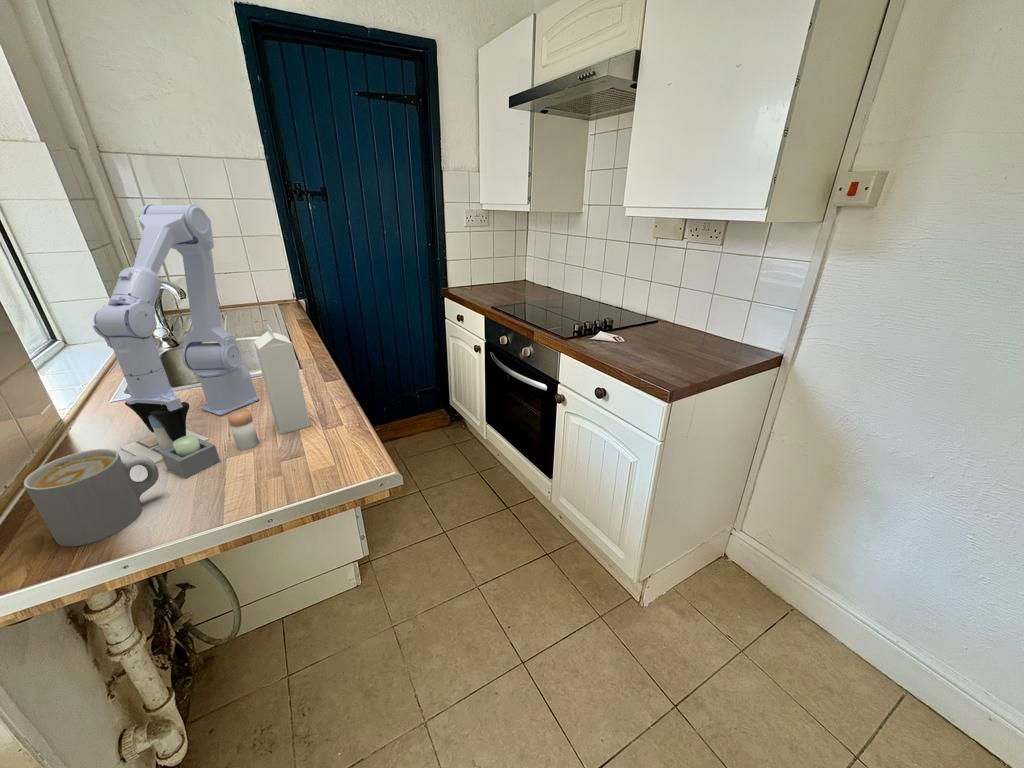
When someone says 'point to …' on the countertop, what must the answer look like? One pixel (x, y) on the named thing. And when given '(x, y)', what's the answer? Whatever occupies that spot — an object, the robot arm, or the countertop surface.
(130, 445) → the sheet
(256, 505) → the countertop surface
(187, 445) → the button
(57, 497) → the coffee mug
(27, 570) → the countertop surface
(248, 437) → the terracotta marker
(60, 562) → the countertop surface
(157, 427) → the cylinder
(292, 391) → the milk
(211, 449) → the button housing
